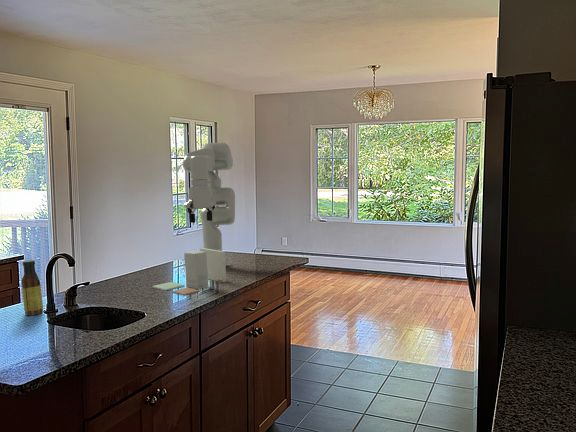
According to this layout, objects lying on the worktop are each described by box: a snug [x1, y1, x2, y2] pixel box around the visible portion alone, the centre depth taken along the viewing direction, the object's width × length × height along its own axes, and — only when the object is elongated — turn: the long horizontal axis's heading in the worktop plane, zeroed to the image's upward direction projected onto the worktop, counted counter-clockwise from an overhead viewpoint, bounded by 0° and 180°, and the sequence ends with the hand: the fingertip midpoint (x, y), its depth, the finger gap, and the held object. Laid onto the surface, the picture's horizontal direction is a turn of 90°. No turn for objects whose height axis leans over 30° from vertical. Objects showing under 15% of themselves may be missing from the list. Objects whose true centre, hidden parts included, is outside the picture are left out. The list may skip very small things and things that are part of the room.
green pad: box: [151, 281, 185, 292], centre depth 234 cm, size 10×10×1 cm
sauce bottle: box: [21, 259, 44, 316], centre depth 195 cm, size 6×6×20 cm
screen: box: [199, 247, 228, 283], centre depth 245 cm, size 4×16×14 cm, turn 48°
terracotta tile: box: [172, 287, 200, 296], centre depth 223 cm, size 8×8×1 cm
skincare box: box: [183, 250, 209, 290], centre depth 232 cm, size 8×7×16 cm
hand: (201, 221), depth 238 cm, fingers open, 9 cm apart
